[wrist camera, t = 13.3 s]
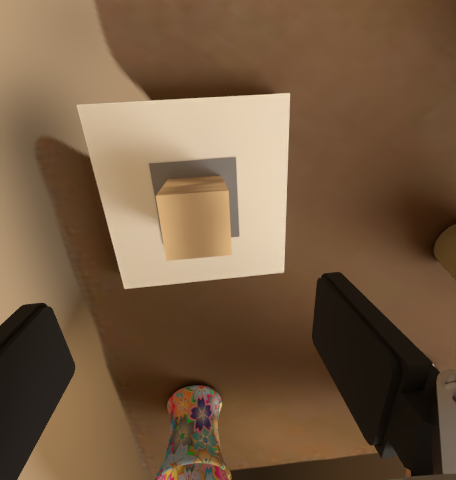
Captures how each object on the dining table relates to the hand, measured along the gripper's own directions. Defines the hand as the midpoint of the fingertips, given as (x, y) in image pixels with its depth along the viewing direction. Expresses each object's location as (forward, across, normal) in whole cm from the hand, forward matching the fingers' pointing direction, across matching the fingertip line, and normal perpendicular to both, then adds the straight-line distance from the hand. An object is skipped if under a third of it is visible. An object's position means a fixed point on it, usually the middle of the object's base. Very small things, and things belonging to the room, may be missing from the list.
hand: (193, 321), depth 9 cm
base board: (+20, 0, 0) cm, 20 cm away
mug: (+20, +4, +34) cm, 40 cm away
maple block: (+17, 0, 0) cm, 17 cm away
